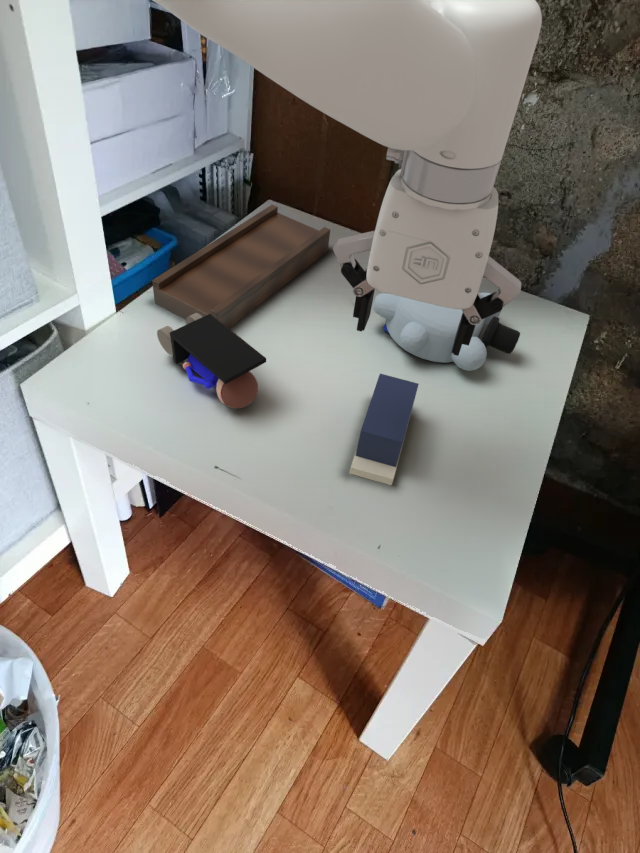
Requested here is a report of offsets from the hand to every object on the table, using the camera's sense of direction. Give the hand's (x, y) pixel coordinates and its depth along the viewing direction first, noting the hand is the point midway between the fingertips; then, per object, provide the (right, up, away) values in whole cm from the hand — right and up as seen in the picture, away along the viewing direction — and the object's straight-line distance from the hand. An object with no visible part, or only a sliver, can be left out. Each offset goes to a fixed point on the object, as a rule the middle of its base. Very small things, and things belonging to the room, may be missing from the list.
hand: (409, 334), depth 64 cm
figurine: (+8, +3, +27) cm, 29 cm away
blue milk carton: (-2, -11, +13) cm, 17 cm away
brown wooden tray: (-20, +14, +33) cm, 41 cm away
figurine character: (-23, -3, +17) cm, 29 cm away
